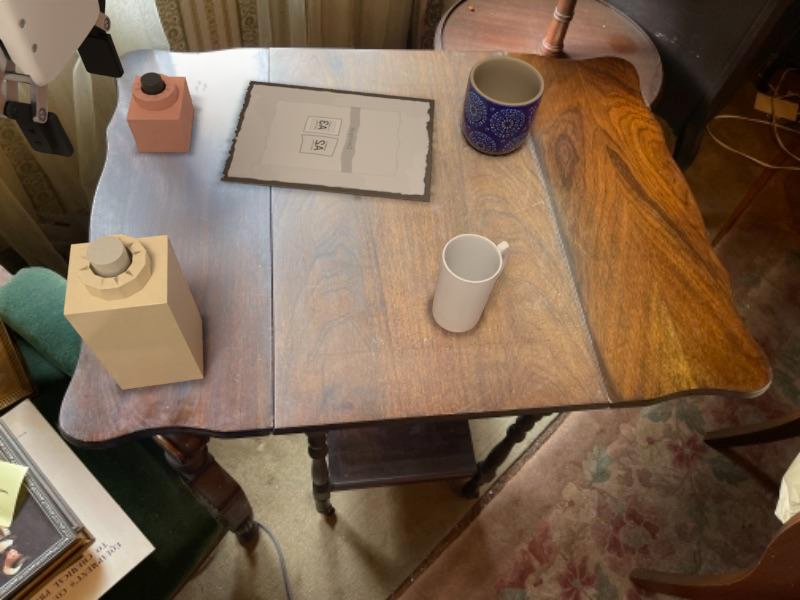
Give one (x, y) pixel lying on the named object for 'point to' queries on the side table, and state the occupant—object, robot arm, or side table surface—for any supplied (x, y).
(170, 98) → the orange push button box
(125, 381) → the tan box with knob
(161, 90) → the black push button
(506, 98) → the planter
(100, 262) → the grey push button
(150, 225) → the side table surface
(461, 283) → the mug
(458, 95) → the side table surface
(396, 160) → the picture frame
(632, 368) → the side table surface
